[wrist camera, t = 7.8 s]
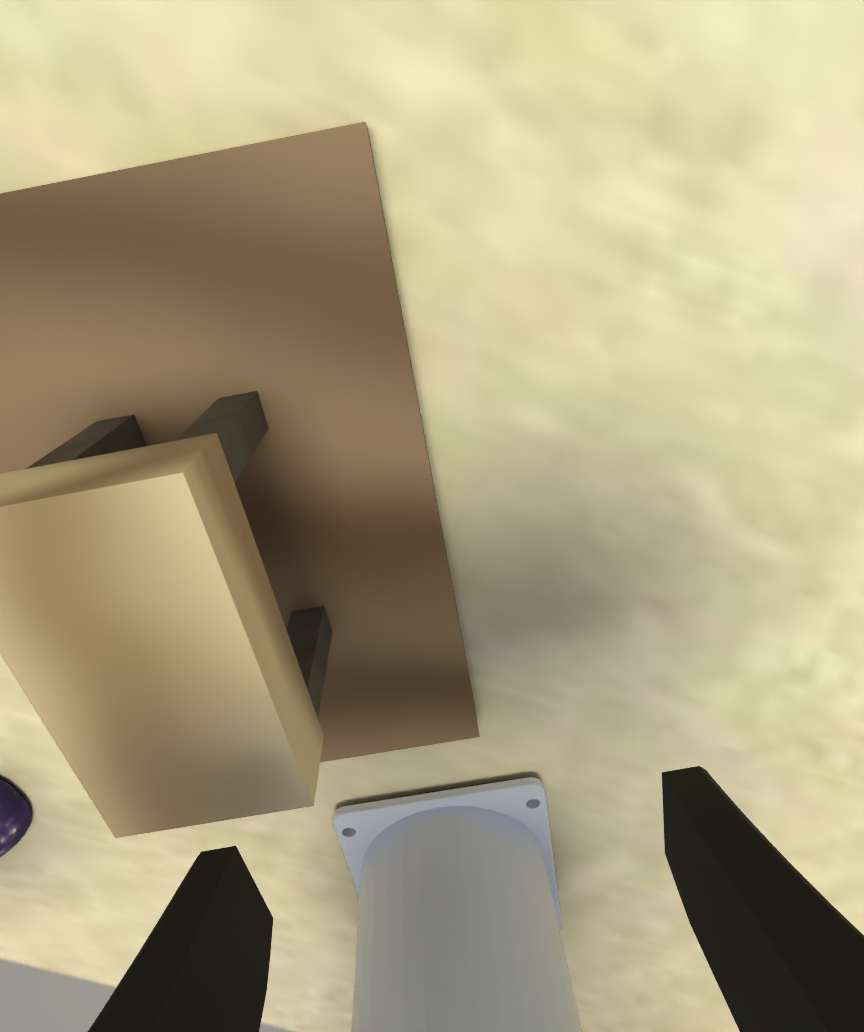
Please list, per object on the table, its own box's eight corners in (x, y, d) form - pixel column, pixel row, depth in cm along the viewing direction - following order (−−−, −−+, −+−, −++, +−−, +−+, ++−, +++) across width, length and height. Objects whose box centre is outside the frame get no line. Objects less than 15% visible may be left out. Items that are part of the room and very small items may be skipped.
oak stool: (260, 381, 15) (182, 472, 10) (338, 636, 19) (313, 805, 13) (86, 414, 15) (-82, 522, 10) (196, 660, 19) (115, 838, 14)
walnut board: (477, 719, 22) (479, 736, 21) (147, 772, 22) (139, 790, 21) (366, 126, 14) (365, 121, 13) (-145, 227, 14) (-175, 227, 13)
